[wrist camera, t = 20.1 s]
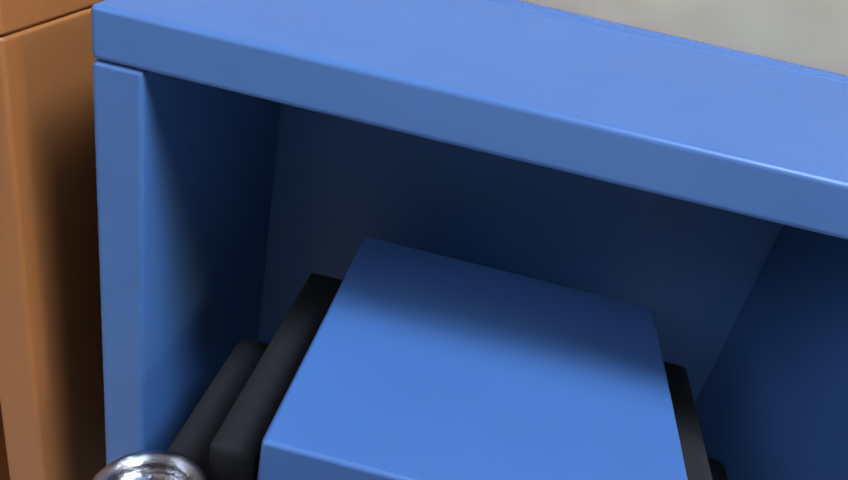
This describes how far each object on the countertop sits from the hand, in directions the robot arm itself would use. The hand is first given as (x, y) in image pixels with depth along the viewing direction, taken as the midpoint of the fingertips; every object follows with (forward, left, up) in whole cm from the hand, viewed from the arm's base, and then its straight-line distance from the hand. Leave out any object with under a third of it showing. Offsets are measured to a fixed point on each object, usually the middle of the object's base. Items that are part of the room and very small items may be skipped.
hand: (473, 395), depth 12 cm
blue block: (0, 0, 0) cm, 0 cm away
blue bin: (0, 0, -3) cm, 3 cm away
